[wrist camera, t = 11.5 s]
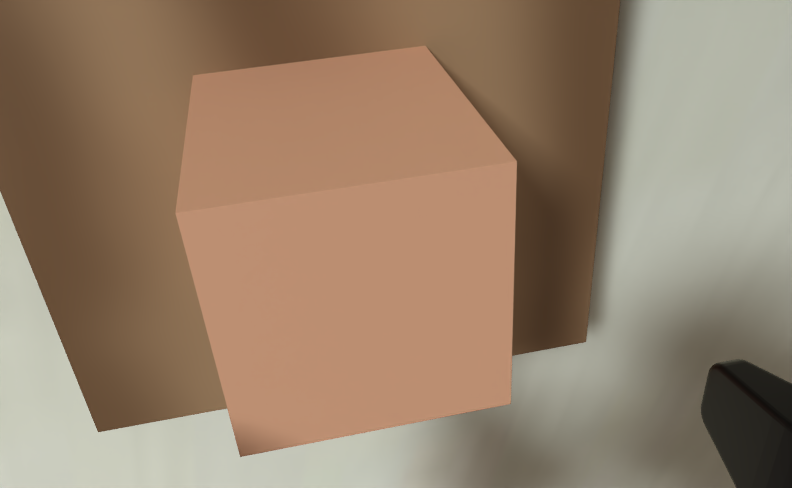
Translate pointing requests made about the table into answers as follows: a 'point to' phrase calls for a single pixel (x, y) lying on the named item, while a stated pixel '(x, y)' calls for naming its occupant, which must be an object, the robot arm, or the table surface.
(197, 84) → the terracotta block
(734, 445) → the robot arm
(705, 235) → the table surface
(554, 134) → the walnut plinth
